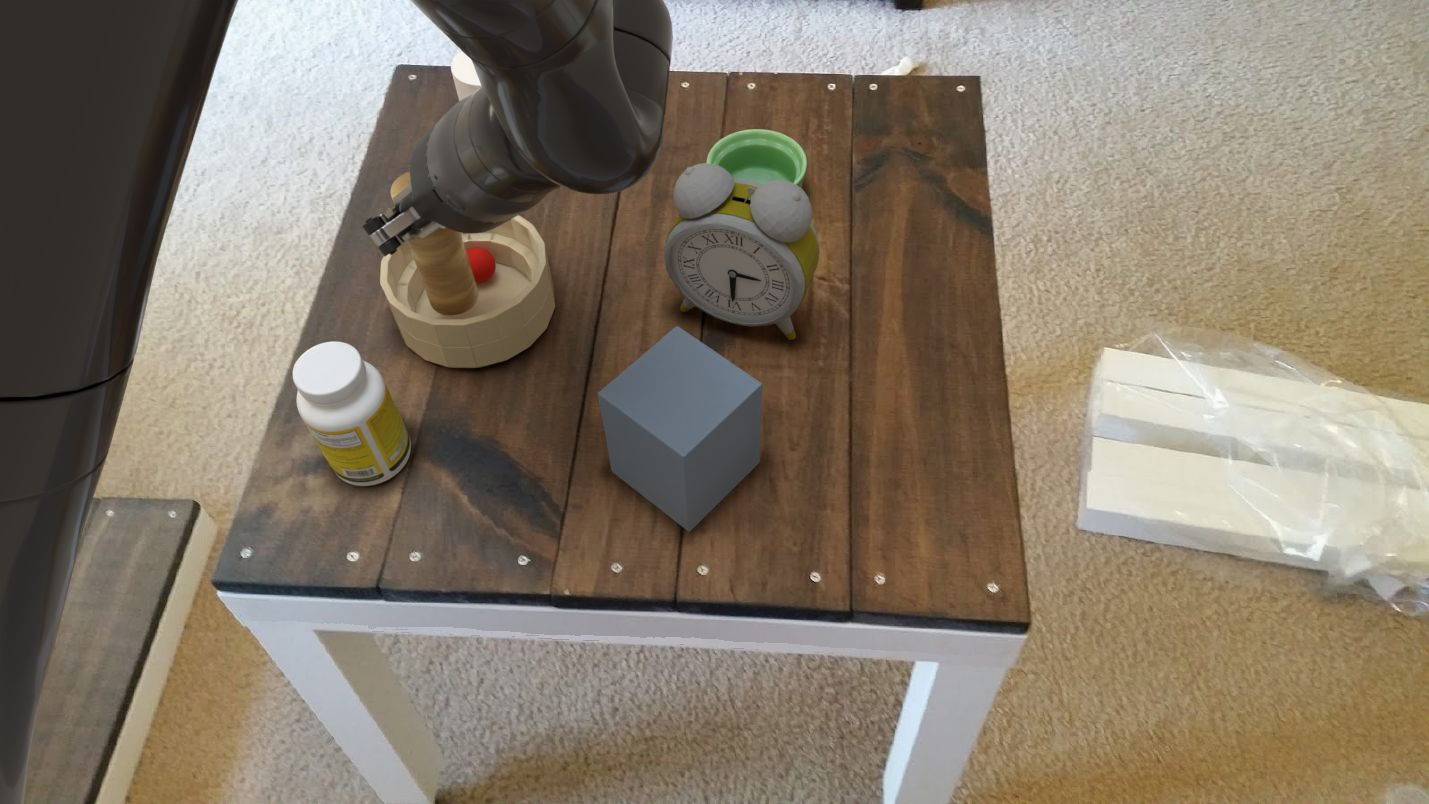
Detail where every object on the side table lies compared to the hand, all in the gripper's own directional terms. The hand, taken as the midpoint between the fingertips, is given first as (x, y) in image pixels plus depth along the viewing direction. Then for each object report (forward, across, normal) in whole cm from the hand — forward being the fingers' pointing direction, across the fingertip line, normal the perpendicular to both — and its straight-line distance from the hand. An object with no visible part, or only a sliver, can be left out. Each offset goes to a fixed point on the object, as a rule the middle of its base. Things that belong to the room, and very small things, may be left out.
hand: (414, 215), depth 80 cm
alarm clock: (-5, -17, +22) cm, 28 cm away
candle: (+16, -17, 0) cm, 23 cm away
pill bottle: (+3, +13, +13) cm, 19 cm away
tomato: (+7, -4, +6) cm, 10 cm away
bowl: (+6, -2, +9) cm, 11 cm away
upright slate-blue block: (-11, -2, +26) cm, 28 cm away
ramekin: (0, -28, +16) cm, 32 cm away
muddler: (+4, 0, +7) cm, 8 cm away
